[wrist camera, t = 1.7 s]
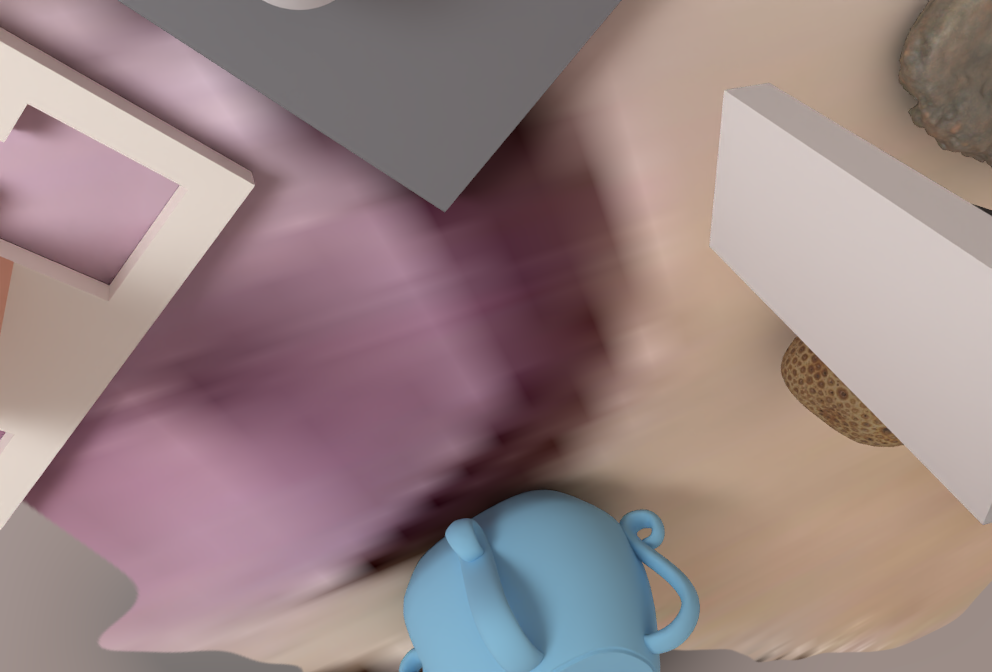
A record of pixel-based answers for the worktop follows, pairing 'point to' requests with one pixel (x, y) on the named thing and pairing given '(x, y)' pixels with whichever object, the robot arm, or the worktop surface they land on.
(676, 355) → the worktop surface
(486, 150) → the boss board
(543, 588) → the decorative pot
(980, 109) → the long grey stone
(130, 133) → the keyhole plate
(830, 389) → the brown round lump
